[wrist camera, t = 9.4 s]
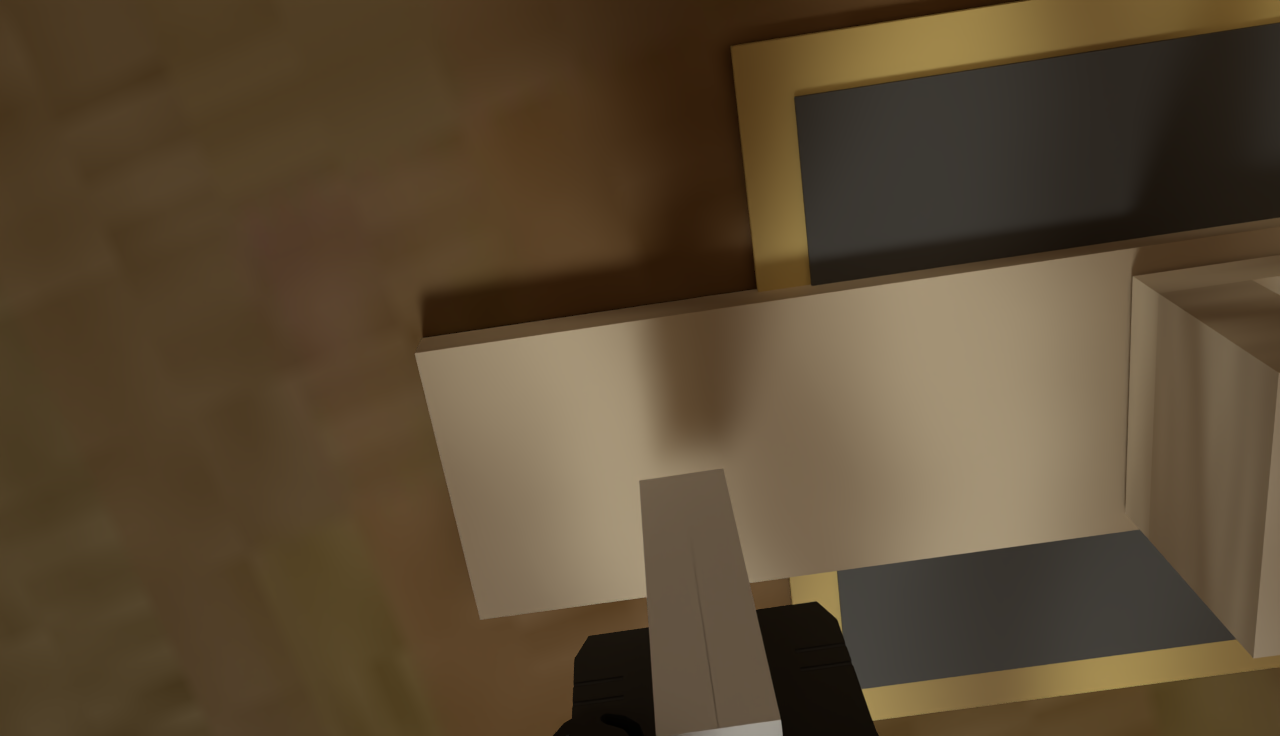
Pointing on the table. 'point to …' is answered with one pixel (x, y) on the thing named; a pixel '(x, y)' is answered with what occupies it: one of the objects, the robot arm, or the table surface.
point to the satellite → (906, 350)
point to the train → (1211, 436)
